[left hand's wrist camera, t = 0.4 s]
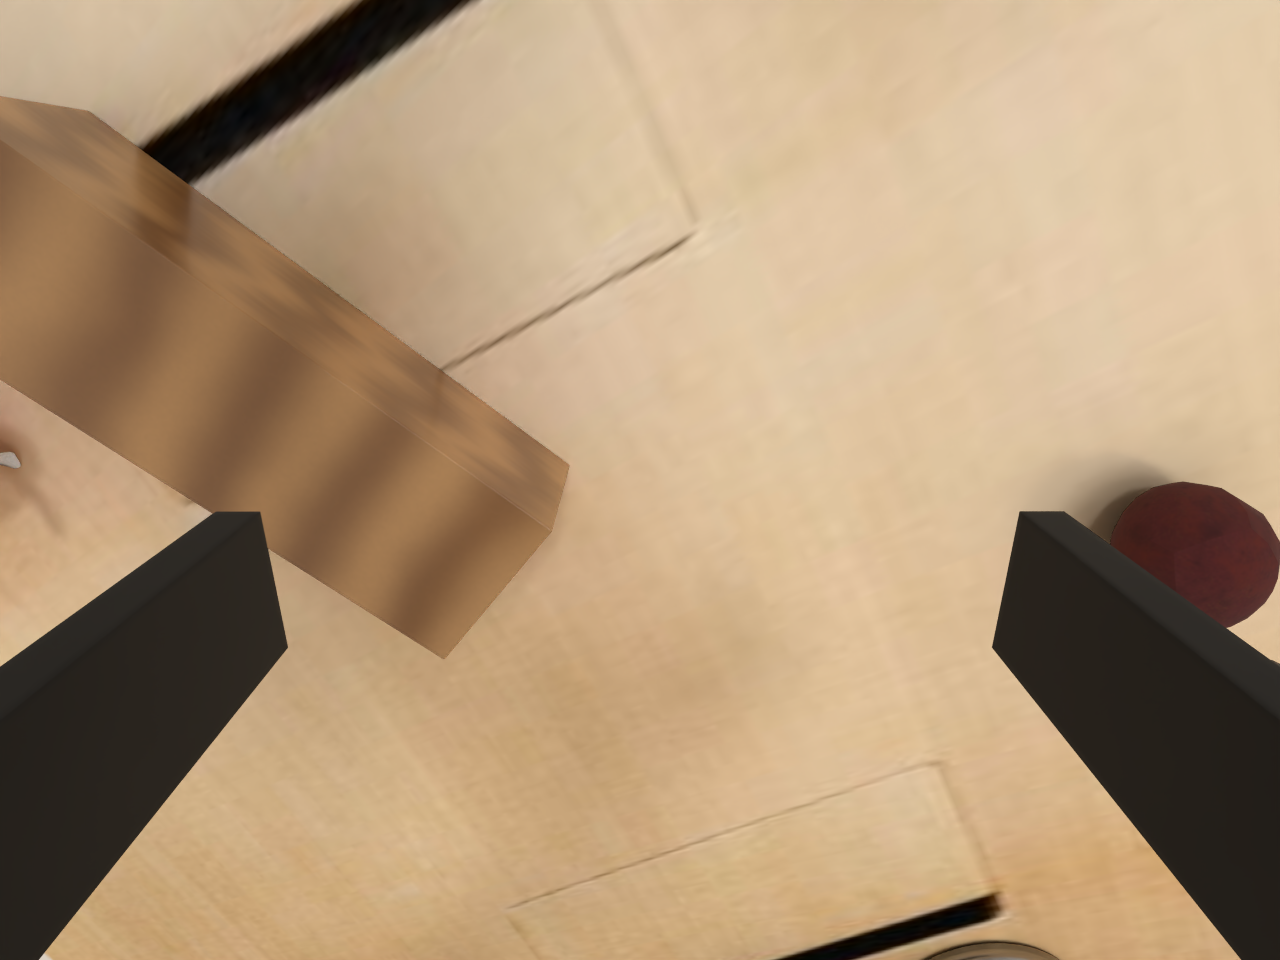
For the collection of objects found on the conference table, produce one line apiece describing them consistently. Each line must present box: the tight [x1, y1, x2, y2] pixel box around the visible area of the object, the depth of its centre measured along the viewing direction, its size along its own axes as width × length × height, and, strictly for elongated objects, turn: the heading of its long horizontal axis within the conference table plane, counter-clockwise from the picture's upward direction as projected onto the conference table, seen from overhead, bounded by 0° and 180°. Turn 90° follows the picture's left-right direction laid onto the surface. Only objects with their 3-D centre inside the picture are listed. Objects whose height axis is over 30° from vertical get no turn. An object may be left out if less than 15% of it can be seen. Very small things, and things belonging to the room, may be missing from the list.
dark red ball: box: [1110, 482, 1280, 628], centre depth 38 cm, size 7×8×7 cm
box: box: [0, 96, 569, 659], centre depth 34 cm, size 28×9×8 cm, turn 51°
